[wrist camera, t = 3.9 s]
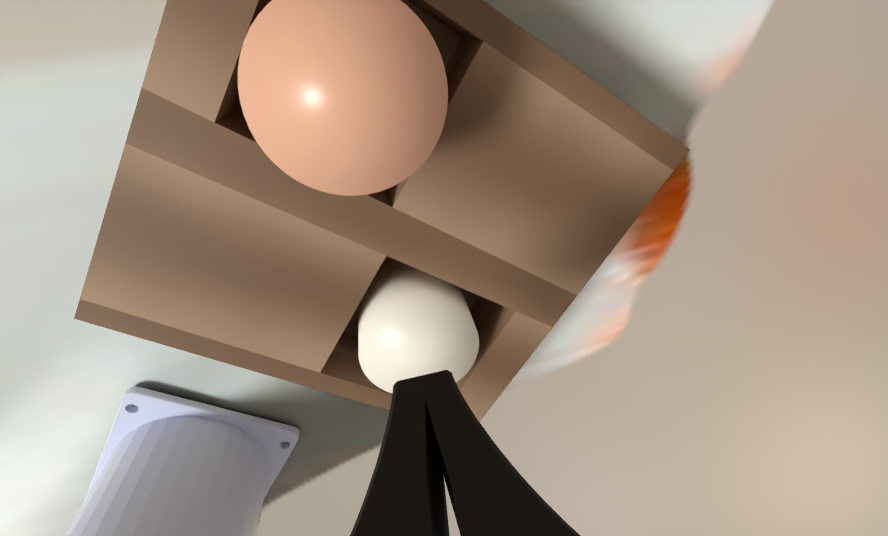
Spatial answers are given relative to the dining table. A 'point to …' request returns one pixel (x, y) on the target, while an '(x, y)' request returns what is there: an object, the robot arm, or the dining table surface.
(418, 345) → the knob cream
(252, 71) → the peach egg
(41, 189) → the dining table surface
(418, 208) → the wooden egg crate
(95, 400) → the dining table surface
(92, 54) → the dining table surface
